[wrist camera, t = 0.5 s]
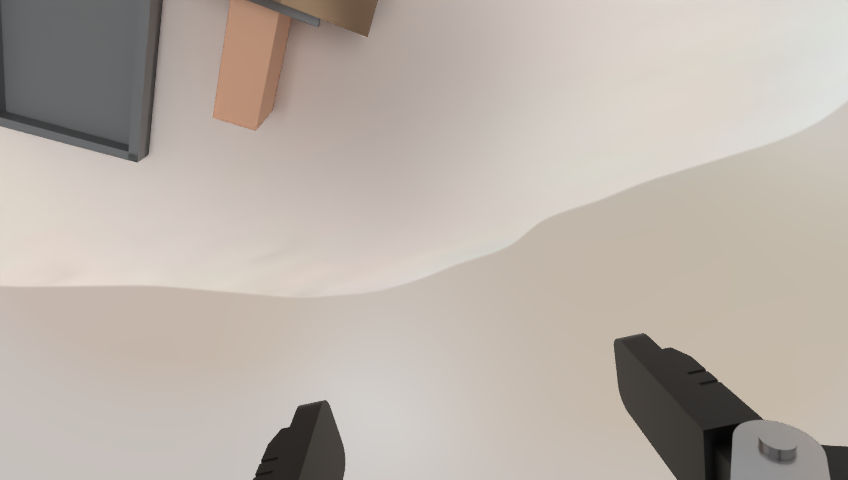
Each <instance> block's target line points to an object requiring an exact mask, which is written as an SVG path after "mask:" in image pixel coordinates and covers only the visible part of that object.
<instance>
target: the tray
mask: <svg viewBox="0 0 848 480" xmlns="http://www.w3.org/2000/svg"><path fill="white" fill-rule="evenodd" d="M161 10H162V0H0V126H2V127H6V128H9V129H13V130H17V131H21V132H24V133H28V134H32V135H36V136H40V137H43V138H47V139H51V140H55V141H58V142H62V143H66V144H70V145H73V146H77V147H81V148H85V149H89V150H92V151H96V152H100V153H104V154H107V155H111V156H115V157H119V158H122V159H126V160H130V161H134V162H139V161H140V160H142V159H143V158H144V157H146V156H147V155H148V152H149V141H150V130H151V119H152V108H153V97H154V86H155V75H156V65H157V54H158V43H159V32H160V21H161Z"/></svg>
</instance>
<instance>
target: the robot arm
mask: <svg viewBox="0 0 848 480" xmlns="http://www.w3.org/2000/svg"><path fill="white" fill-rule="evenodd" d="M614 352H615V361H616V370H617V378H618V387H619V392H620V395H621V399H622V401H623V404H624V405H625V408H626V410H627V411H628V413H629V414H630V415H631V417H632V418H633V420H634V421H635V422H636V423H637V425H638V426H639V428H640V429H641V430H642V432H643V433H644V435H645V436H646V437H647V439H648V440H649V442H650V443H651V444H652V446H653V447H654V448H655V450H656V451H657V453H658V454H659V455H660V457H661V458H662V459H663V461H664V462H665V464H666V465H667V466H668V468H669V469H670V470H671V472H672V473H673V475H674V476H675V477H676V479H677V480H848V447H845V446H844V447H843V446H828V445H820V444H819V443H818V442H817V441H816V440H815V439H814V438H813V437H811V436H810V435H808V434H807V433H805V432H803V431H801V430H800V429H797V428H795V427H793V426H790V425H787V424H784V423H780V422H776V421H769V420H763V419H762V418H761V417H760V416H759V415H758V414H757V413H755V412H754V411H753V410H752V409H751V408H750V407H749V406H747V405H746V404H745V403H744V402H743V401H742V400H740V399H739V398H738V397H737V396H736V395H735V394H733V393H732V392H731V391H730V390H729V389H728V388H727V387H725V386H724V385H723V384H722V383H721V382H718V380H717V379H716V378H715V377H714V376H713V375H712V374H711V373H709V372H706V370H705V368H704V367H702V366H701V365H700V364H699V363H698V362H697V361H696V360H694V359H693V358H692V357H691V356H689V355H687V354H684V353H682V352H680V351H678V350H675V349H673V348H665V349H661V348H660V347H659V346H658V345H657V344H656V343H655V342H654V341H653V340H652V339H651V338H650V337H648V336H647V335H646V334H644V333H642V334H638V335H633V336H628V337H623V338H619V339H616V340H615V341H614ZM261 462H262V463H261V464H260V465H259V467H258V470H257V472H256V474H255V475H256V477H255V478H254V479H253V480H343V476H344V471H345V452H344V447H343V444H342V440H341V437H340V434H339V431H338V429H337V425H336V423H335V420H334V417H333V414H332V411H331V408H330V405H329V403H328V402H327V401H326V400H324V401H319V402H314V403H310V404H305V405H300V406H298V408H297V410H296V412H295V415H294V418H293V420H292V423H291V425H290V427H288V428H283V429H281V430H280V431H279V433H278V434H277V435H276V436H275V437H274V438H273V439H272V441H271V442H270V443H269V444H268V446H267V448H266V451H265V453H264V456H263V458H262V460H261Z"/></svg>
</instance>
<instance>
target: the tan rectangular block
mask: <svg viewBox="0 0 848 480" xmlns="http://www.w3.org/2000/svg"><path fill="white" fill-rule="evenodd" d="M291 19H292V17H289V16H286V15H284V14H281V13H279V12H276V11H273V10H271V9H268V8H266V7H263V6H260V5H258V4H255V3H252V2H250V1H247V0H230V6H229V13H228V19H227V26H226V32H225V39H224V46H223V52H222V59H221V65H220V72H219V78H218V85H217V92H216V98H215V105H214V111H213V118H216V119H219V120H222V121H226V122H229V123H232V124H235V125H239V126H242V127H245V128H249V129H252V130H255V131H256V130H257V129H258V128H259V126H260V125H261V124H262V123H263V121H264V120H265V119H266V118H267V116H268V115H269V114H270V113H271V112H272V110H273V105H274V100H275V96H276V91H277V86H278V81H279V76H280V72H281V67H282V62H283V57H284V52H285V48H286V43H287V38H288V33H289V29H290V24H291Z"/></svg>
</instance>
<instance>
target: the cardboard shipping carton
mask: <svg viewBox="0 0 848 480" xmlns="http://www.w3.org/2000/svg"><path fill="white" fill-rule="evenodd" d="M247 1H250V2H252V3H255V4H258V5H260V6H263V7H266V8H268V9H271V10H273V11H276V12H279V13H281V14H284V15H286V16H289V17H292V18H294V19H297V20H300V21H302V22H305V23H307V24H310V25H313V26H315V27H319V24H320V20H321V19H322V20H325V21H327V22H330V23H333V24H335V25H338V26H340V27H343V28H345V29H348V30H351V31H353V32H356V33H358V34H361V35H363V36H366V37H368V33H369V30H370V26H371V23H372V19H373V15H374V12H375V8H376V5H377V1H378V0H247Z"/></svg>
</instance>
